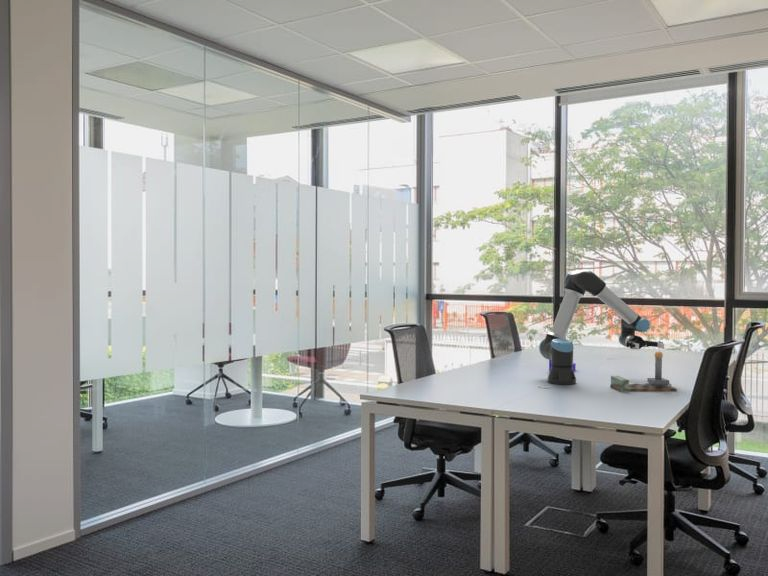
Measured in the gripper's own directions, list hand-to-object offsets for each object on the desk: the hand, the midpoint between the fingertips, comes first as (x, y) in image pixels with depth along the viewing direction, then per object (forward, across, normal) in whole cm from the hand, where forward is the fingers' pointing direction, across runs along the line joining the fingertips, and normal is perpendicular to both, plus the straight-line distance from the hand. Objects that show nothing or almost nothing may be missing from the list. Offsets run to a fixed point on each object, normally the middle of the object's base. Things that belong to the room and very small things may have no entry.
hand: (650, 346), depth 364 cm
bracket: (-54, +29, -22) cm, 65 cm away
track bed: (+10, +8, -21) cm, 25 cm away
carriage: (+10, 0, -19) cm, 21 cm away
